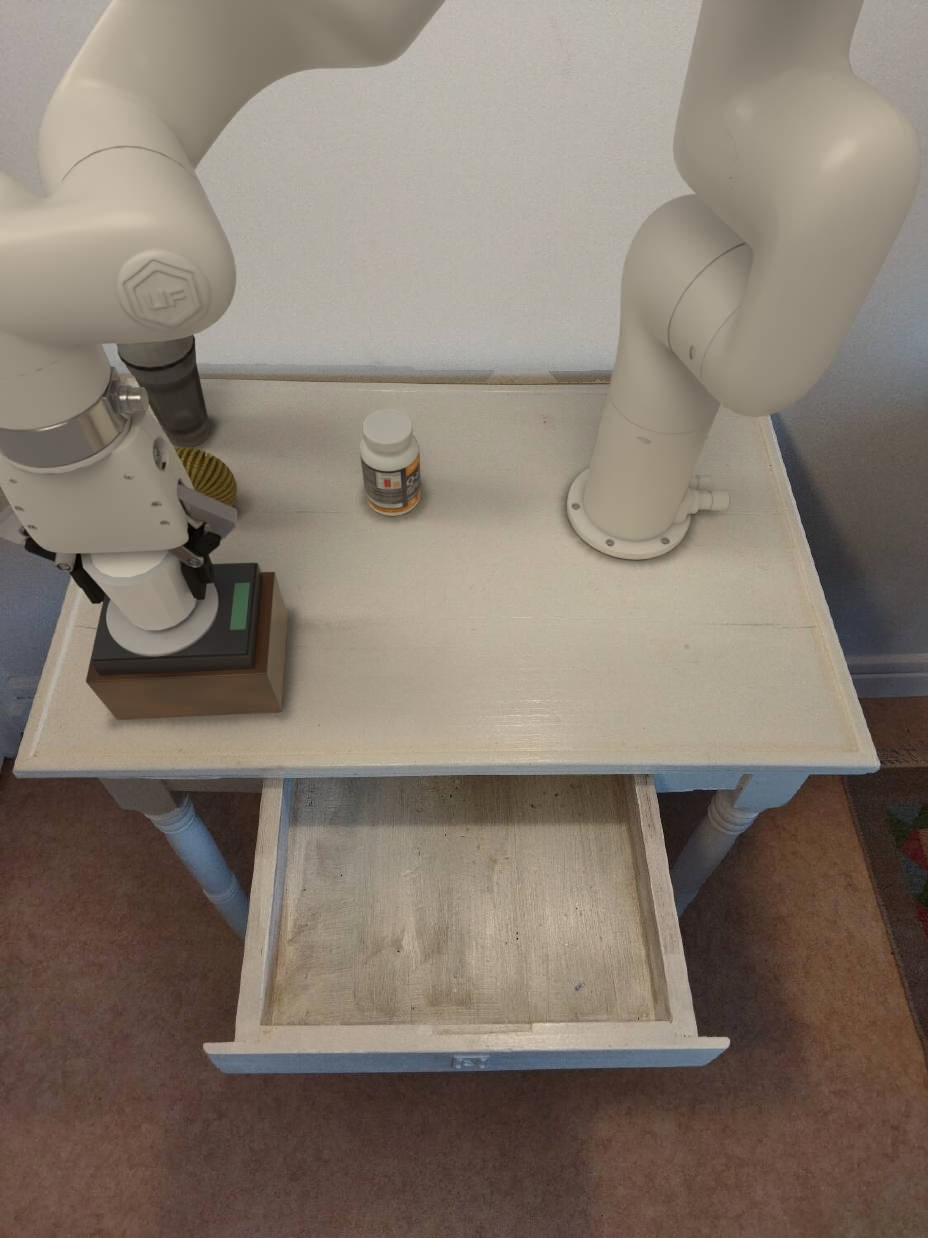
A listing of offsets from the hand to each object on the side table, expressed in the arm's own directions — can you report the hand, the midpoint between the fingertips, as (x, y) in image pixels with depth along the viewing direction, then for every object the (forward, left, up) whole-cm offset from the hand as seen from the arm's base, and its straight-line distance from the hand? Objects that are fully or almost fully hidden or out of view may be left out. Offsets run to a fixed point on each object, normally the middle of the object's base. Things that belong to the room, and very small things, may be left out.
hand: (151, 585), depth 59 cm
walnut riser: (-1, 0, -13) cm, 13 cm away
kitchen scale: (-1, 0, -6) cm, 6 cm away
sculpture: (+1, -18, -13) cm, 22 cm away
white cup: (0, 0, -2) cm, 2 cm away
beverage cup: (+4, -29, -13) cm, 32 cm away
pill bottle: (-18, -19, -13) cm, 29 cm away
